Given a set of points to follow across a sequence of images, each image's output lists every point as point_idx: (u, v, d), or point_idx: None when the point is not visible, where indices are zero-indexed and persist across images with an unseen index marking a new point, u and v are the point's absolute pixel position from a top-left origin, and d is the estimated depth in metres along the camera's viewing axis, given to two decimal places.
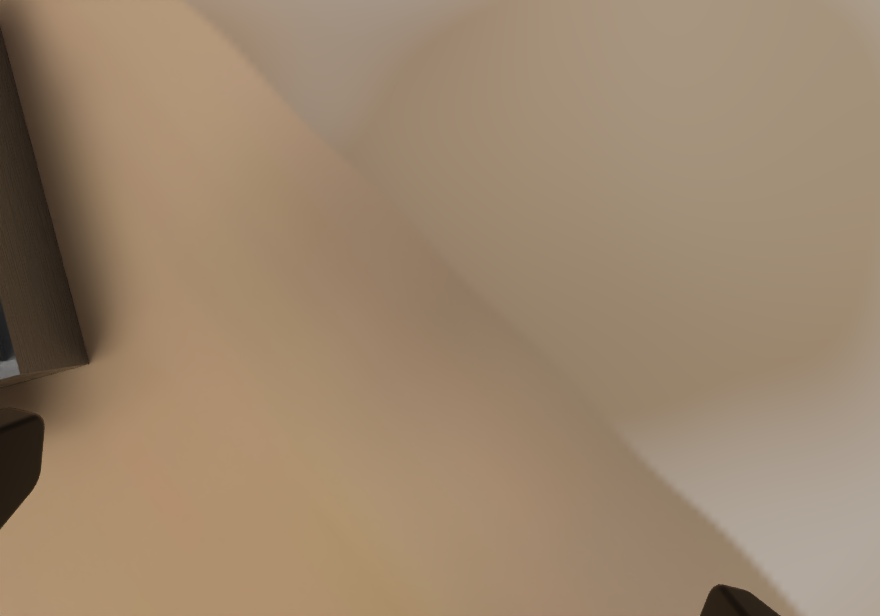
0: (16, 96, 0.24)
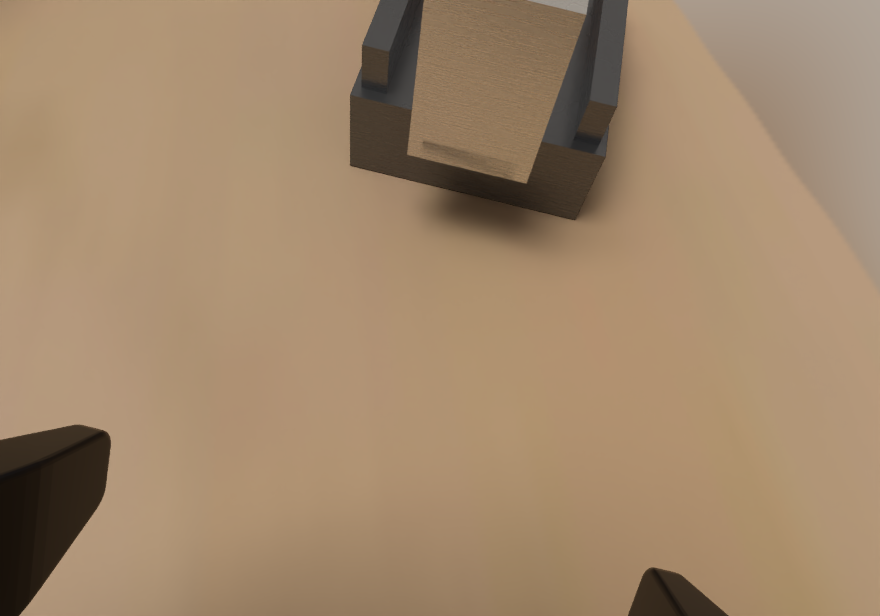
0: None
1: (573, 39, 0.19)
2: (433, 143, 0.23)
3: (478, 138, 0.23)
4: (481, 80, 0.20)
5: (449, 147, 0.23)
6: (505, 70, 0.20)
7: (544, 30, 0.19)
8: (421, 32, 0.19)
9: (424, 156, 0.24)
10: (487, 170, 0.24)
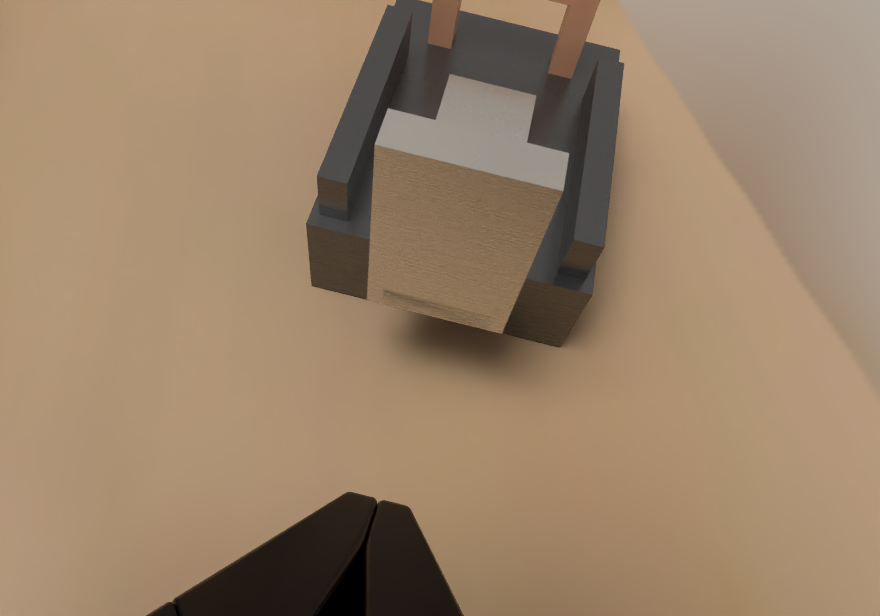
0: None
1: (549, 212, 0.16)
2: (395, 293, 0.20)
3: (445, 292, 0.20)
4: (445, 242, 0.18)
5: (413, 297, 0.20)
6: (472, 235, 0.17)
7: (514, 202, 0.16)
8: (373, 195, 0.17)
9: (386, 303, 0.21)
10: (457, 320, 0.21)
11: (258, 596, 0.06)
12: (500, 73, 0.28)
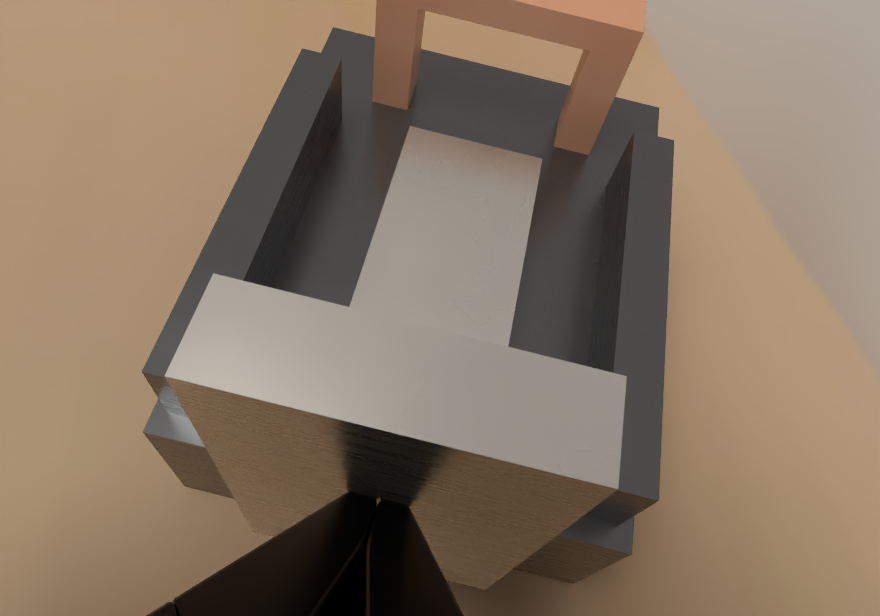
0: None
1: (580, 506, 0.07)
2: None
3: None
4: None
5: None
6: (416, 506, 0.08)
7: (502, 486, 0.07)
8: (202, 439, 0.08)
9: None
10: None
11: (258, 596, 0.06)
12: None
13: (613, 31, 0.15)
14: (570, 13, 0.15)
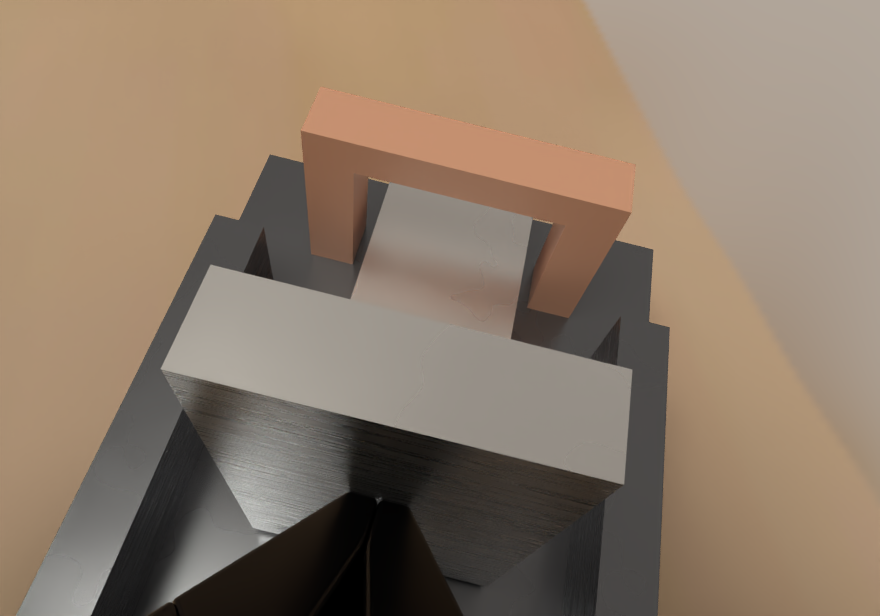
0: None
1: (585, 502, 0.07)
2: None
3: None
4: None
5: None
6: (417, 502, 0.08)
7: (504, 482, 0.07)
8: (200, 434, 0.08)
9: None
10: None
11: (258, 596, 0.06)
12: None
13: (593, 209, 0.12)
14: (540, 188, 0.12)
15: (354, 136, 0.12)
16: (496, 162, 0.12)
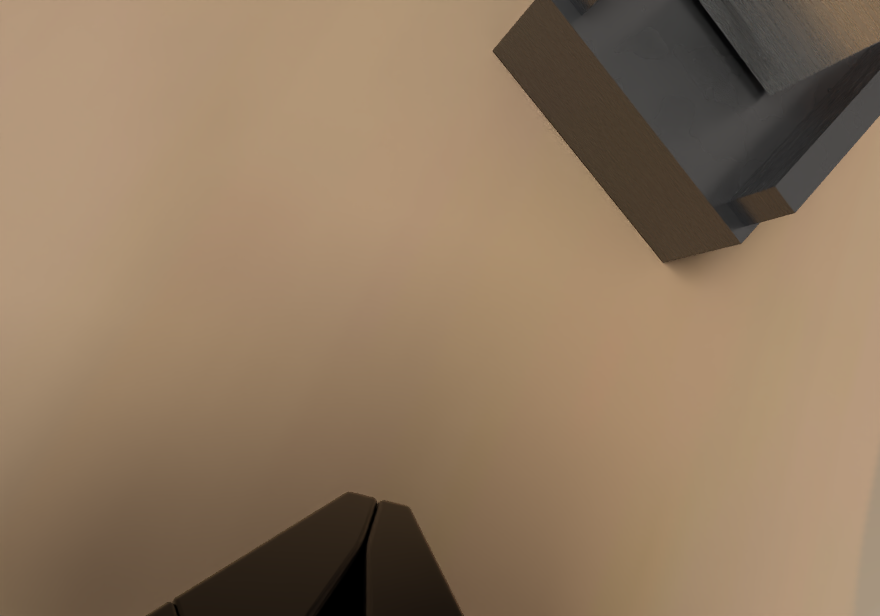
0: None
1: None
2: None
3: (771, 21, 0.20)
4: None
5: (735, 9, 0.21)
6: None
7: None
8: None
9: (703, 1, 0.21)
10: (746, 58, 0.21)
11: (258, 596, 0.06)
12: None
13: None
14: None
15: None
16: None
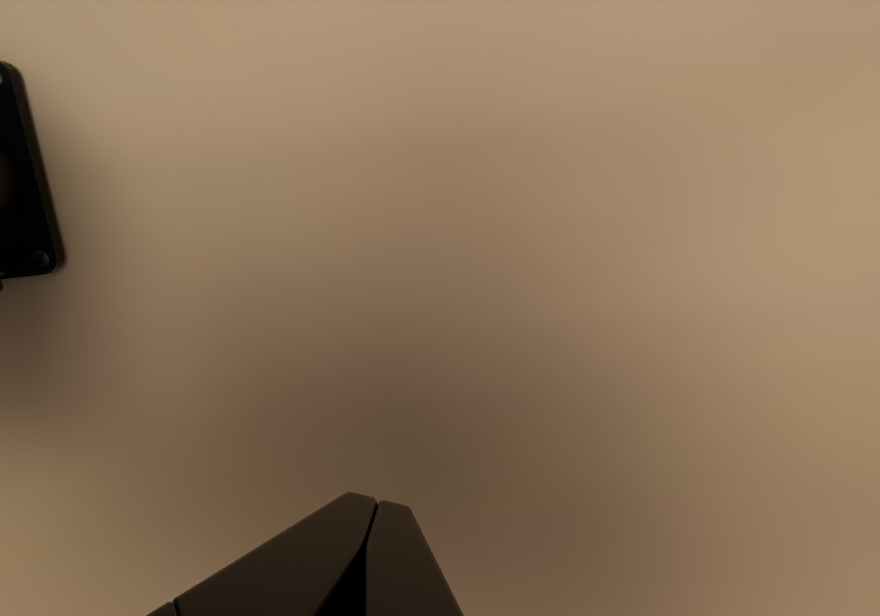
0: None
1: None
2: None
3: None
4: None
5: None
6: None
7: None
8: None
9: None
10: None
11: (258, 596, 0.06)
12: None
13: None
14: None
15: None
16: None
